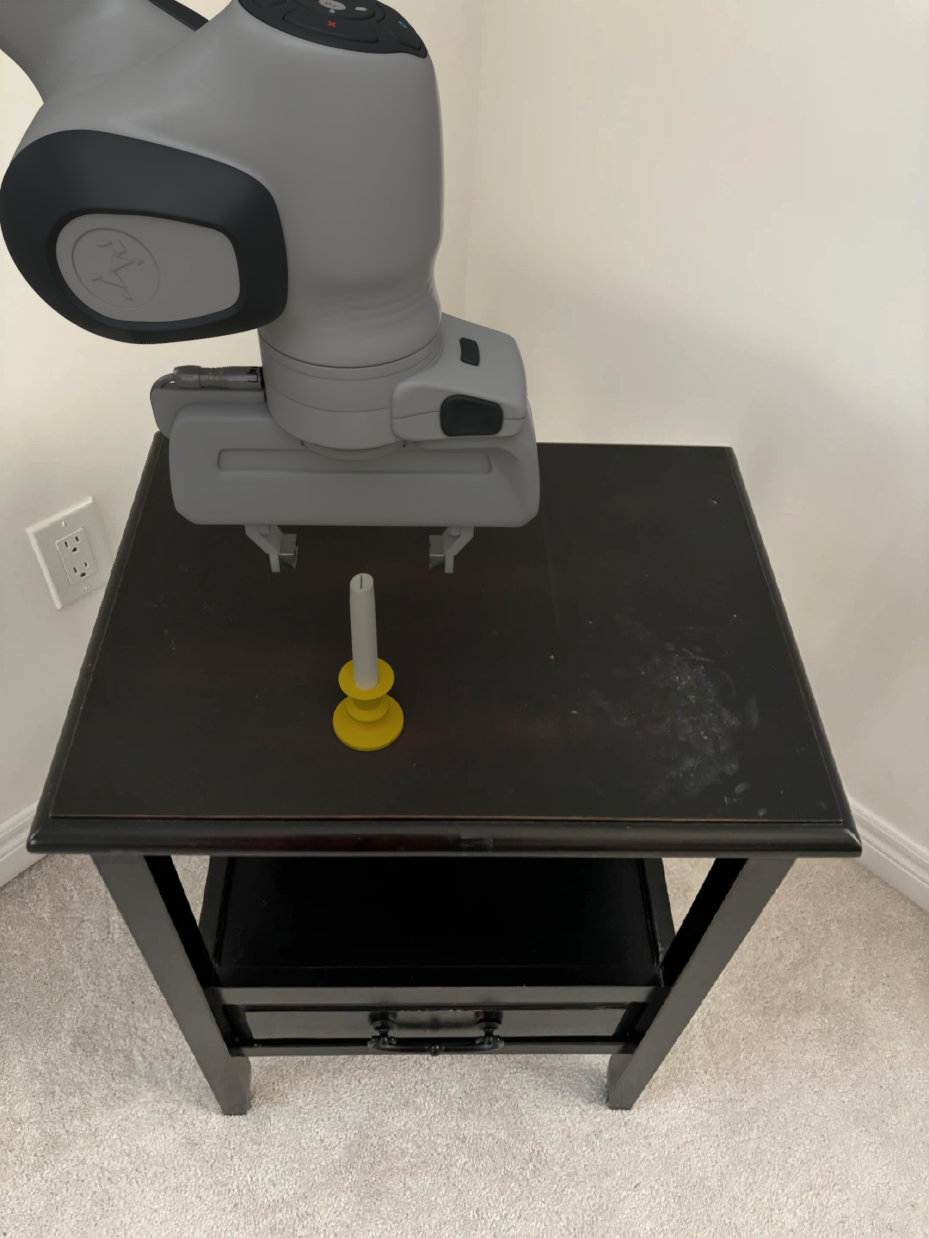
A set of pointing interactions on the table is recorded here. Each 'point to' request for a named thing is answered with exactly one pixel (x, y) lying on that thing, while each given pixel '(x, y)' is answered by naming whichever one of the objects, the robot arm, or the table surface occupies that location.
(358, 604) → the candle
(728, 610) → the table surface
